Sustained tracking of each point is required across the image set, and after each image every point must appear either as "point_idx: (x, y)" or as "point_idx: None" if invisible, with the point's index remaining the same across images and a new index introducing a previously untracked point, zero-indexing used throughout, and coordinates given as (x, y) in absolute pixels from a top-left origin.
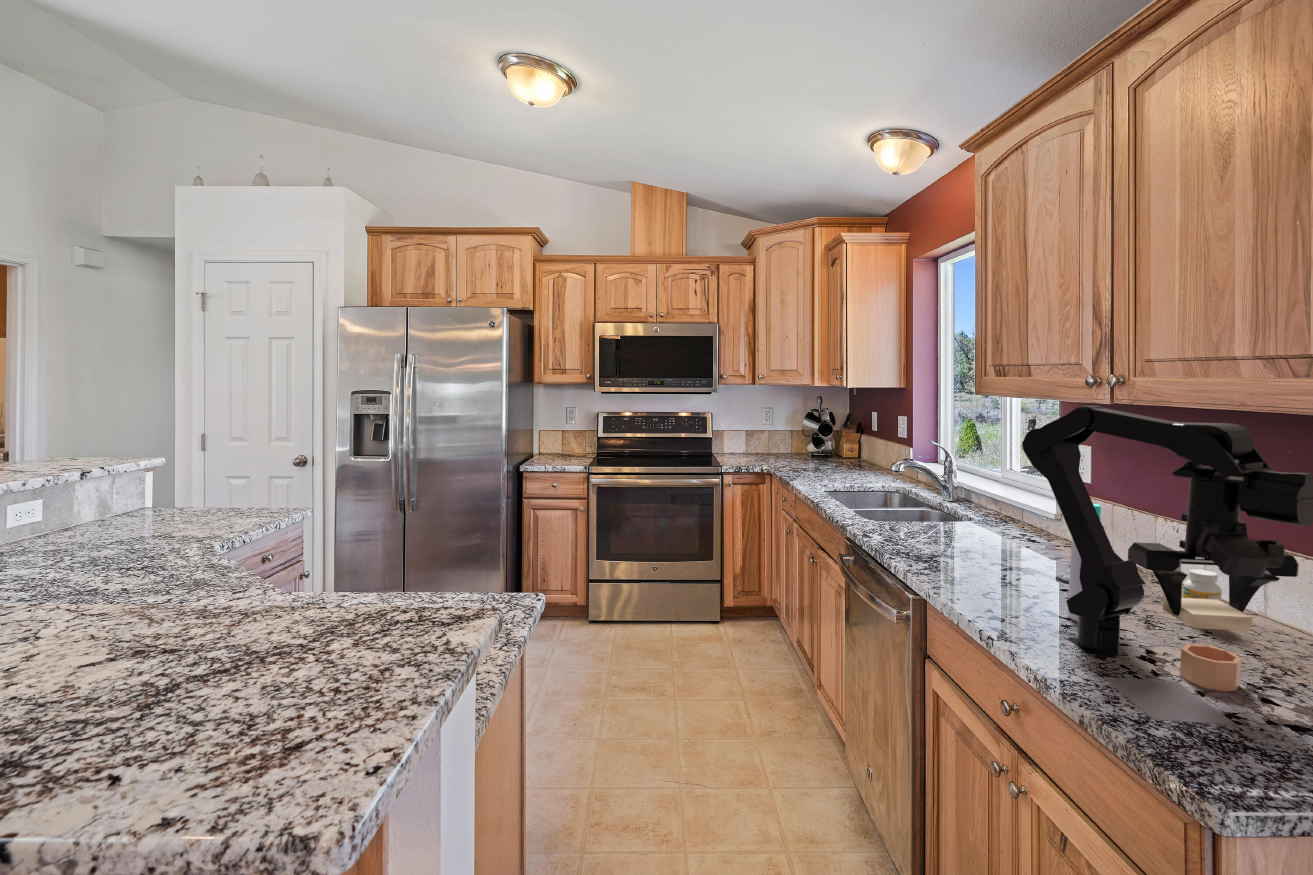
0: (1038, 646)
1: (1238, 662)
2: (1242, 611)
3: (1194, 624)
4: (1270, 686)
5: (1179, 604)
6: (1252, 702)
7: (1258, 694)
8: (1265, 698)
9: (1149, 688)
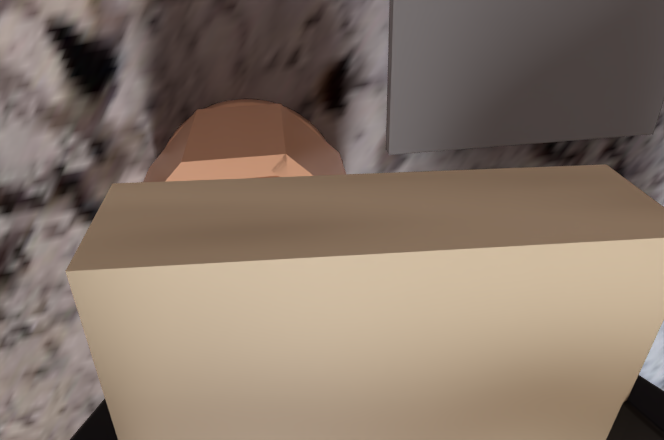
0: (653, 346)
1: (165, 180)
2: (78, 436)
3: (612, 177)
4: (13, 208)
5: (658, 416)
6: (160, 37)
7: (96, 124)
8: (84, 89)
9: (545, 65)
